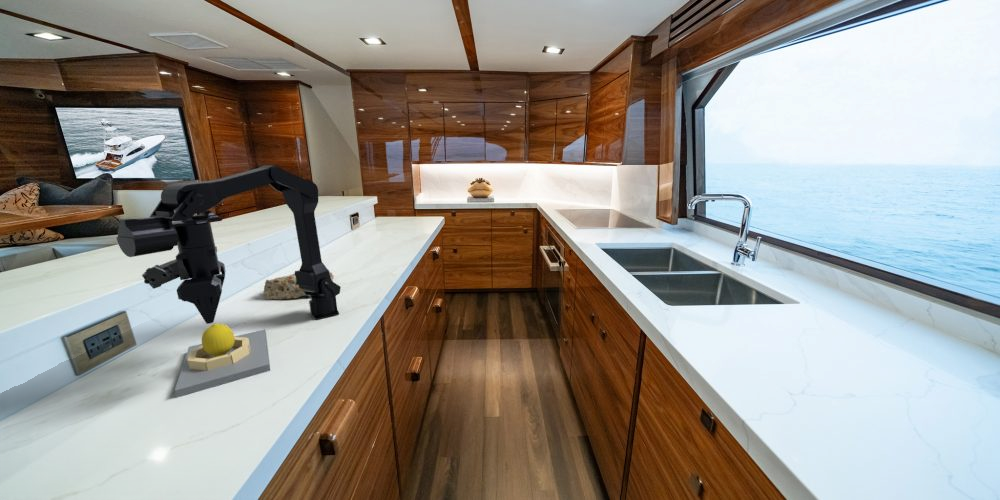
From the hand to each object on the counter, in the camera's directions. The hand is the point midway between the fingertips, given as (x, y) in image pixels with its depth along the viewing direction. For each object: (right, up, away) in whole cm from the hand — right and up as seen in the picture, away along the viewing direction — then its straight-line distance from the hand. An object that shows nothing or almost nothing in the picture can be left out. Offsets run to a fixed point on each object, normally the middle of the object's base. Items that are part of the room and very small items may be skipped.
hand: (211, 315), depth 73 cm
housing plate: (+1, -11, +3) cm, 12 cm away
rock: (-7, -1, +46) cm, 46 cm away
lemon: (0, -10, +3) cm, 10 cm away
